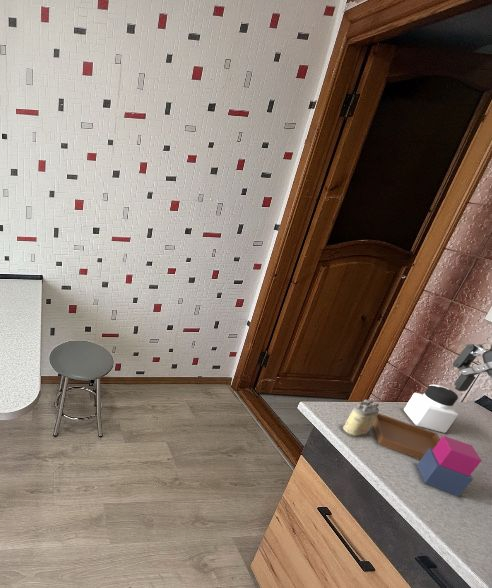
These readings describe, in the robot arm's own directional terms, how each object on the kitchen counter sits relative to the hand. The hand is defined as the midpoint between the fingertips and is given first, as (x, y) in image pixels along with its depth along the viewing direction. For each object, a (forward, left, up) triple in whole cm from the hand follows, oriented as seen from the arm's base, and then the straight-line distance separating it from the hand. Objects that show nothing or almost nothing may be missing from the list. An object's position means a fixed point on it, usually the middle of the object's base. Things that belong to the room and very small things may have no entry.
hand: (483, 403), depth 68 cm
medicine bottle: (-7, -30, -25) cm, 39 cm away
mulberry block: (-3, -4, -19) cm, 19 cm away
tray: (0, -16, -25) cm, 29 cm away
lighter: (+12, -12, -25) cm, 30 cm away
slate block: (-3, -4, -25) cm, 25 cm away
